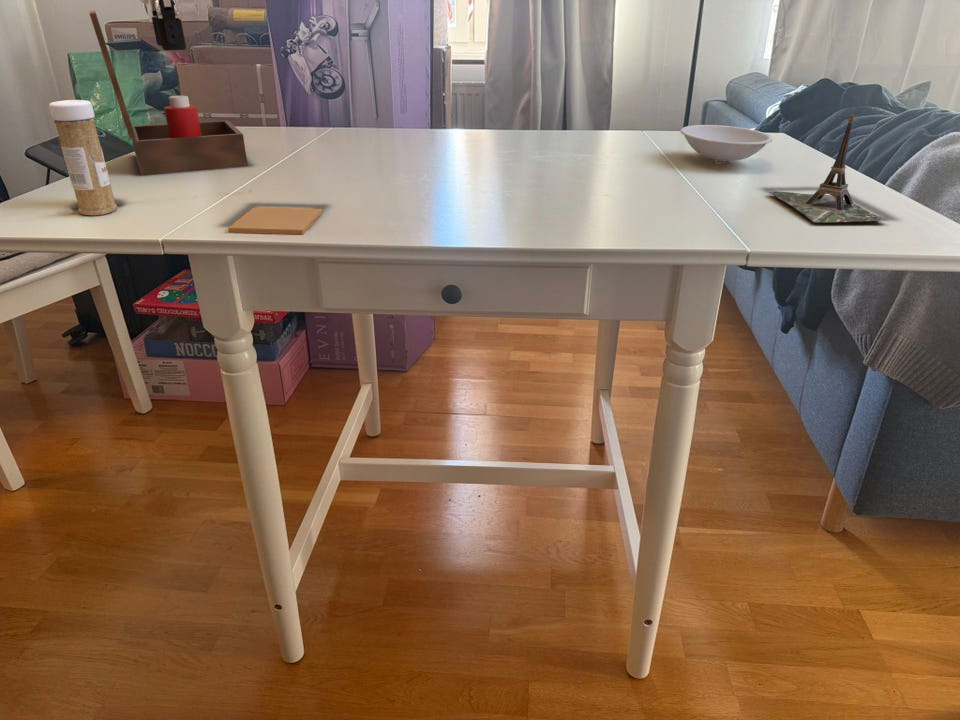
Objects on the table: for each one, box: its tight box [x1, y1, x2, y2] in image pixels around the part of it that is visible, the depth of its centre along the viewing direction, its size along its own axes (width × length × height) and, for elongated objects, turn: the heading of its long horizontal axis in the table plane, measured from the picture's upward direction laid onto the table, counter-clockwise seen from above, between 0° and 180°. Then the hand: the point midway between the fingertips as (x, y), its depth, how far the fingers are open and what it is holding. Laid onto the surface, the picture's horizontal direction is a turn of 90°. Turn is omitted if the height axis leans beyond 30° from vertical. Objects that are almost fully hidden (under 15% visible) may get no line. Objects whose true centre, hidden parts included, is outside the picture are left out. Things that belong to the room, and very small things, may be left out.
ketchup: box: [163, 95, 202, 138], centre depth 108 cm, size 5×5×10 cm
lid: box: [88, 10, 135, 140], centre depth 100 cm, size 16×15×1 cm
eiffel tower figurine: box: [767, 105, 888, 223], centre depth 89 cm, size 15×10×13 cm
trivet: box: [227, 206, 324, 235], centre depth 84 cm, size 9×9×1 cm
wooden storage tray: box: [131, 119, 249, 176], centre depth 109 cm, size 16×15×6 cm
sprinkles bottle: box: [48, 99, 118, 216], centre depth 84 cm, size 5×5×13 cm
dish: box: [680, 124, 774, 165], centre depth 116 cm, size 18×14×5 cm
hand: (171, 47), depth 102 cm, fingers open, 9 cm apart
